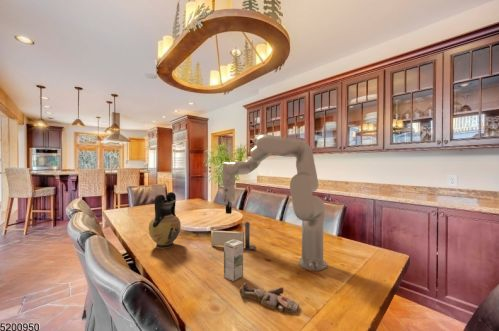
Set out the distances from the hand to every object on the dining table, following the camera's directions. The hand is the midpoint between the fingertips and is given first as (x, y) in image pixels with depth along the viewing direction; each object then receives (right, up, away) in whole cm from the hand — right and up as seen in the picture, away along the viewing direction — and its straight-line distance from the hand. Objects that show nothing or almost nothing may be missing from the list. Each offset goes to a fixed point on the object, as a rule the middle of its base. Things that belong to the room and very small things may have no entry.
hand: (228, 213), depth 135 cm
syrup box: (+6, -18, -42) cm, 46 cm away
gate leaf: (0, -16, -9) cm, 19 cm away
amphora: (-35, -17, -7) cm, 40 cm away
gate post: (+13, -17, -11) cm, 24 cm away
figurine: (+19, -18, -58) cm, 64 cm away
